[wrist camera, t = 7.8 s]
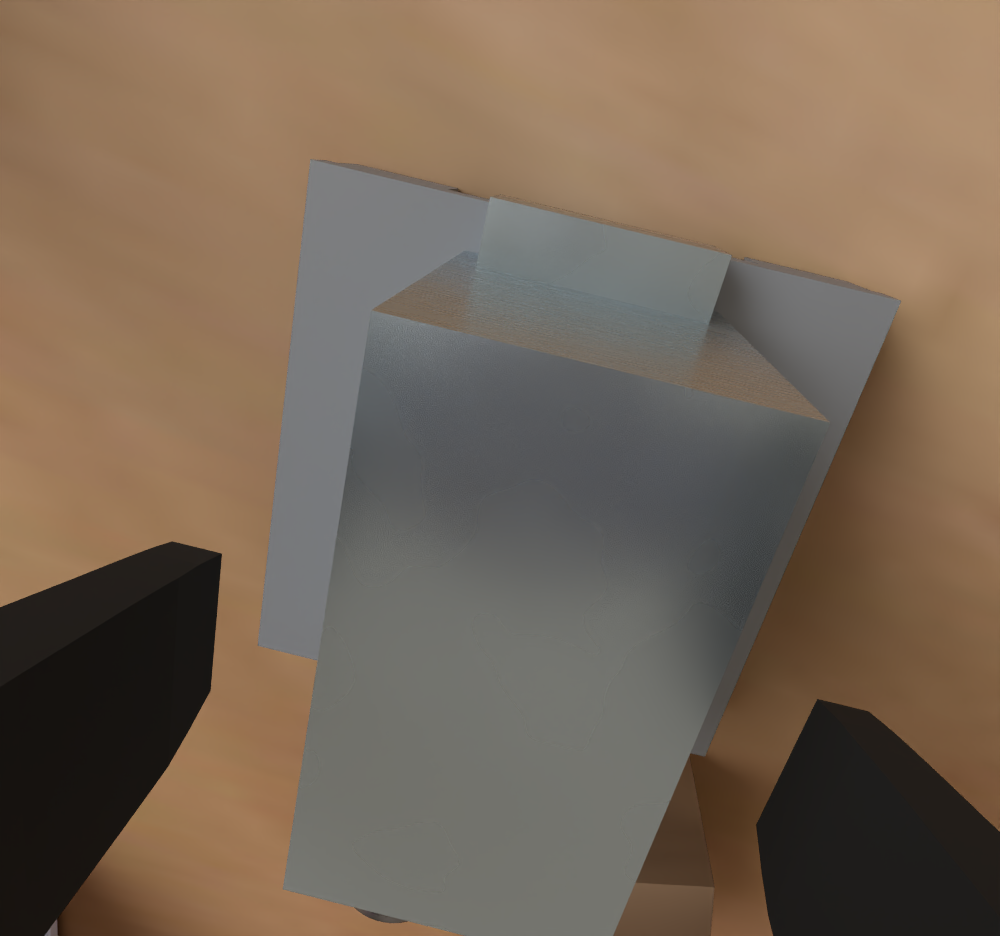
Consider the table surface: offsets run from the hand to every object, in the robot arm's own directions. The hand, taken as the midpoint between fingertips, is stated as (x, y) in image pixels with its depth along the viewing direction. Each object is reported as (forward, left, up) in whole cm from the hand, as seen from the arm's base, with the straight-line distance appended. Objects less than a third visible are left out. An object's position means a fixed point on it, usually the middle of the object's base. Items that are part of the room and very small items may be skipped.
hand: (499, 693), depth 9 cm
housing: (0, 0, -6) cm, 6 cm away
